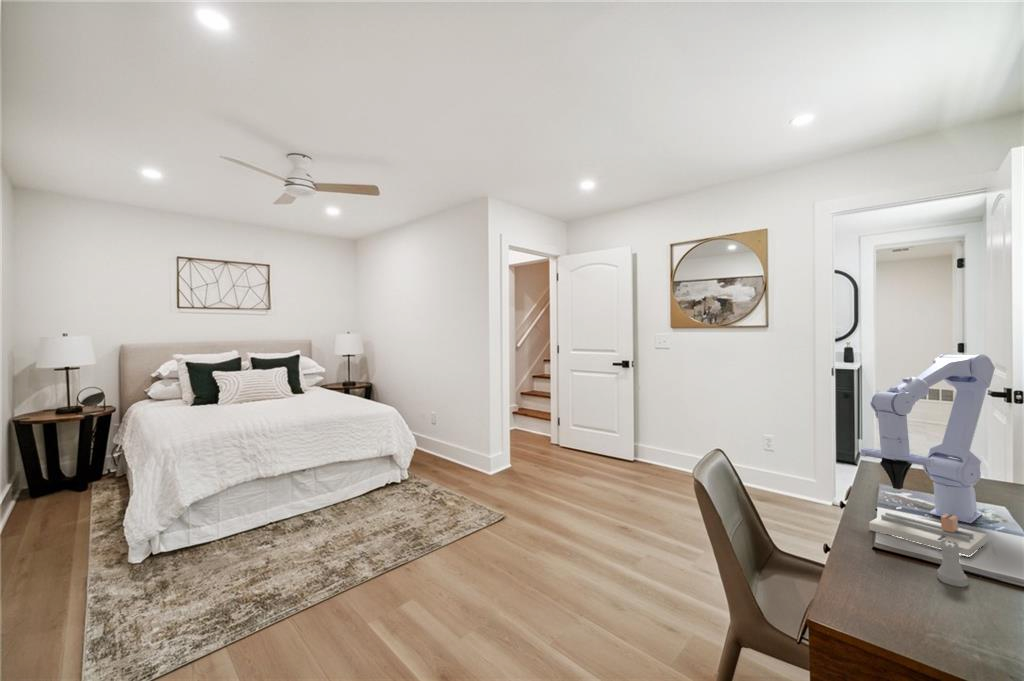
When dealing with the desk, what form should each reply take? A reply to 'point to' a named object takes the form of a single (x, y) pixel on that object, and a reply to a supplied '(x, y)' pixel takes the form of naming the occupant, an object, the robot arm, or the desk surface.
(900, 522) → the white slider track board
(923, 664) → the desk surface
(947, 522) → the fader
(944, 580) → the rook chess piece
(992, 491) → the desk surface
